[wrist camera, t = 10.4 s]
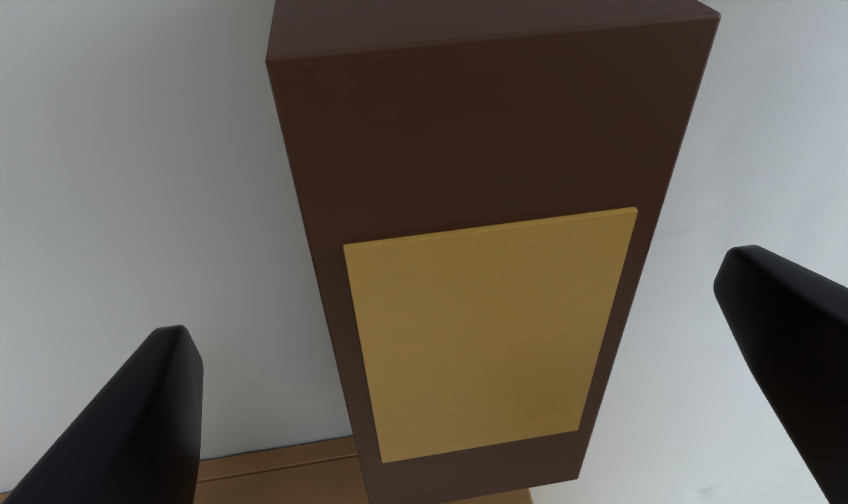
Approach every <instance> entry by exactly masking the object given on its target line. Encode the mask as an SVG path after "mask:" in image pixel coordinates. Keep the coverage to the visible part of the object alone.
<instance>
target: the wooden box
mask: <svg viewBox="0 0 848 504" xmlns="http://www.w3.org/2000/svg"><path fill="white" fill-rule="evenodd" d="M10 493H11V492H9V493H3V494H0V504H1V503H2V502H3V501H4V499H5V498H6V497H7V496H8V495H9V494H10ZM193 504H369V500H368V495H367V491H366V487H365V483H364V478H363V474H362V470H361V466H360V461H359V457H358V453H357V449H356V444H355V440H354V436H352V437H346V438H340V439H333V440H327V441H321V442H315V443H309V444H303V445H297V446H291V447H284V448H278V449H272V450H266V451H260V452H254V453H248V454H242V455H236V456H229V457H223V458H217V459H211V460H205V461H200V462H199V470H198V477H197V484H196V490H195V496H194V502H193ZM441 504H534V503H533V500H532V497H531V493H530V490H529V488H525V489H519V490H514V491H508V492H502V493H497V494H491V495H486V496H480V497H474V498H469V499H463V500H458V501H452V502H446V503H441Z"/></svg>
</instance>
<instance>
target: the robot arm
mask: <svg viewBox="0 0 848 504" xmlns="http://www.w3.org/2000/svg"><path fill="white" fill-rule="evenodd" d="M713 288H714V294H715V297H716V299H717V301H718V303H719V305H720V308H721V310H722V312H723V314H724V316H725V318H726V321H727V323H728V325H729V327H730V329H731V331H732V333H733V336H734V338H735V340H736V342H737V344H738V346H739V348H740V351H741V353H742V355H743V357H744V359H745V361H746V363H747V365H748V367H749V369H750V371H751V373H752V375H753V376H754V378H755V380H756V382H757V384H758V385H759V387H760V389H761V390H762V392H763V394H764V395H765V397H766V399H767V400H768V402H769V404H770V405H771V407H772V409H773V410H774V412H775V414H776V415H777V417H778V419H779V420H780V422H781V424H782V425H783V427H784V429H785V430H786V432H787V433H788V435H789V437H790V438H791V440H792V442H793V443H794V445H795V447H796V448H797V450H798V452H799V453H800V455H801V457H802V458H803V460H804V462H805V463H806V465H807V467H808V468H809V470H810V472H811V473H812V475H813V477H814V478H815V480H816V482H817V483H818V485H819V487H820V488H821V490H822V492H823V493H824V495H825V497H826V498H827V500H828V502H829V503H830V504H848V288H847V287H845V286H843V285H840V284H838V283H836V282H834V281H832V280H830V279H828V278H826V277H824V276H821V275H819V274H817V273H815V272H813V271H811V270H809V269H807V268H804V267H802V266H800V265H798V264H796V263H794V262H792V261H790V260H787V259H785V258H783V257H781V256H779V255H777V254H775V253H773V252H771V251H768V250H766V249H764V248H762V247H760V246H757V245H747V246H740V247H734V248H731V249H730V250H729V251H728V252H727V253H726V255H725V257H724V260H723V262H722V264H721V266H720V269H719V271H718V273H717V276H716V278H715V280H714V285H713ZM202 396H203V362H202V359H201V356H200V354H199V352H198V350H197V348H196V346H195V344H194V342H193V340H192V338H191V336H190V334H189V332H188V330H187V329H186V327H184V326H182V325H175V326H168V327H161V328H157V329H155V330H154V331H153V332H152V333H151V334H150V335H149V336H148V337H147V338H146V339H145V341H144V342H143V343H142V344H141V345H140V346H139V347H138V348H137V350H136V351H135V352H134V353H133V354H132V355H131V356H130V358H129V359H128V360H127V361H126V362H125V363H124V364H123V366H122V367H121V368H120V369H119V370H118V371H117V372H116V373H115V375H114V376H113V377H112V378H111V379H110V380H109V381H108V383H107V384H106V385H105V386H104V387H103V388H102V389H101V390H100V392H99V393H98V394H97V395H96V396H95V397H94V398H93V400H92V401H91V402H90V403H89V404H88V405H87V406H86V407H85V409H84V410H83V411H82V412H81V413H80V414H79V415H78V417H77V418H76V419H75V420H74V421H73V422H72V423H71V425H70V426H69V427H68V428H67V429H66V430H65V431H64V432H63V434H62V435H61V436H60V437H59V438H58V439H57V440H56V442H55V443H54V444H53V445H52V446H51V447H50V448H49V449H48V451H47V452H46V453H45V454H44V455H43V456H42V457H41V459H40V460H39V461H38V462H37V463H36V464H35V465H34V466H33V468H32V469H31V470H30V471H29V472H28V473H27V474H26V476H25V477H24V478H23V479H22V480H21V481H20V482H19V484H18V485H17V486H16V487H15V488H14V489H13V490H12V491H11V493H10V494H9V495H8V496H7V497H6V498H5V499H4V501H3V502H2V503H1V504H193V502H194V496H195V490H196V484H197V477H198V470H199V462H200V447H201V421H202Z"/></svg>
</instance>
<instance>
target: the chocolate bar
mask: <svg viewBox="0 0 848 504" xmlns="http://www.w3.org/2000/svg"><path fill="white" fill-rule="evenodd" d="M720 19H721V14H720V13H719V12H717V11H715V10H713V9H712V8H710V7H708V6H706V5H704V4H703V3H701V2H699V1H697V0H275V6H274V12H273V18H272V24H271V30H270V36H269V42H268V48H267V53H266V59H265V62H266V67H267V71H268V75H269V79H270V84H271V88H272V92H273V96H274V101H275V105H276V109H277V113H278V118H279V122H280V126H281V130H282V135H283V139H284V143H285V147H286V152H287V156H288V160H289V164H290V169H291V173H292V177H293V181H294V185H295V190H296V194H297V198H298V202H299V207H300V211H301V215H302V219H303V224H304V228H305V232H306V236H307V241H308V245H309V249H310V253H311V258H312V262H313V266H314V270H315V275H316V279H317V283H318V287H319V292H320V296H321V300H322V304H323V309H324V313H325V317H326V321H327V326H328V330H329V334H330V338H331V343H332V347H333V351H334V355H335V359H336V364H337V368H338V372H339V376H340V381H341V385H342V389H343V393H344V398H345V402H346V406H347V410H348V415H349V419H350V423H351V427H352V432H353V436H354V440H355V444H356V449H357V453H358V457H359V461H360V466H361V470H362V474H363V478H364V483H365V487H366V491H367V495H368V500H369V504H441V503H446V502H452V501H458V500H463V499H469V498H474V497H480V496H486V495H491V494H497V493H502V492H508V491H514V490H519V489H525V488H530V487H536V486H542V485H547V484H553V483H558V482H564V481H570V480H575V479H578V476H579V473H580V470H581V467H582V463H583V460H584V457H585V454H586V451H587V447H588V444H589V441H590V438H591V434H592V431H593V428H594V425H595V422H596V418H597V415H598V412H599V409H600V405H601V402H602V399H603V396H604V393H605V389H606V386H607V383H608V380H609V376H610V373H611V370H612V367H613V364H614V360H615V357H616V354H617V351H618V347H619V344H620V341H621V338H622V335H623V331H624V328H625V325H626V322H627V318H628V315H629V312H630V309H631V306H632V302H633V299H634V296H635V293H636V289H637V286H638V283H639V280H640V276H641V273H642V270H643V267H644V264H645V260H646V257H647V254H648V251H649V247H650V244H651V241H652V238H653V235H654V231H655V228H656V225H657V222H658V218H659V215H660V212H661V209H662V206H663V202H664V199H665V196H666V193H667V189H668V186H669V183H670V180H671V177H672V173H673V170H674V167H675V164H676V160H677V157H678V154H679V151H680V148H681V144H682V141H683V138H684V135H685V131H686V128H687V125H688V122H689V119H690V115H691V112H692V109H693V106H694V102H695V99H696V96H697V93H698V90H699V86H700V83H701V80H702V77H703V73H704V70H705V67H706V64H707V61H708V57H709V54H710V51H711V48H712V44H713V41H714V38H715V35H716V32H717V28H718V25H719V22H720Z"/></svg>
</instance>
